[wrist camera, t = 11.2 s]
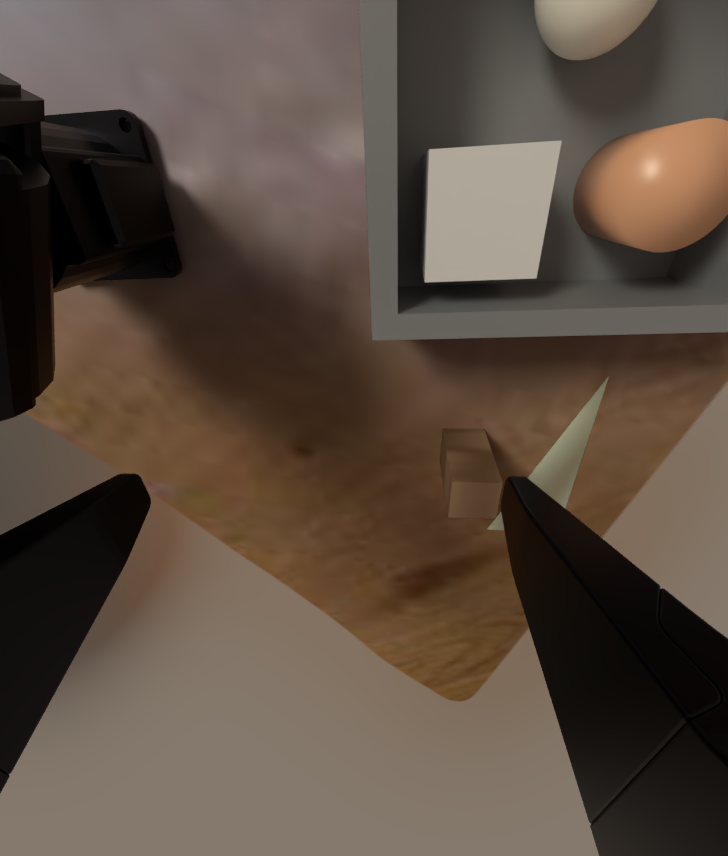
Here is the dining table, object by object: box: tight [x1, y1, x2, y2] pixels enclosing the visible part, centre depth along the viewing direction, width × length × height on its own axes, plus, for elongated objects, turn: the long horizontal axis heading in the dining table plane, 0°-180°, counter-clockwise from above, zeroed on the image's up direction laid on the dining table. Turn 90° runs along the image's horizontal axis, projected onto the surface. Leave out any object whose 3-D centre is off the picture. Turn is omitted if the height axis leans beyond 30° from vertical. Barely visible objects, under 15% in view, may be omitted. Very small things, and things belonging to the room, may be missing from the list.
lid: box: [440, 376, 609, 530], centre depth 22 cm, size 15×15×6 cm
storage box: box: [359, 0, 728, 341], centre depth 13 cm, size 14×14×6 cm
